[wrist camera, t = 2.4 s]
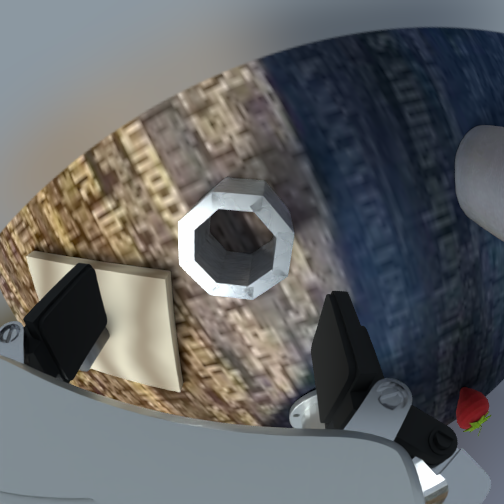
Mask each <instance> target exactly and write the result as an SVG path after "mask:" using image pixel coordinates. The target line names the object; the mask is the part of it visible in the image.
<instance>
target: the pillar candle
mask: <svg viewBox="0 0 504 504" xmlns="http://www.w3.org/2000/svg"><path fill="white" fill-rule="evenodd" d="M455 185H456V195H457V198H458V202H459V204H460V206H461V208H462V210H463V211H464V213H465V214H466V215H467V216H468V217H469V218H470V219H471V220H473V221H474V222H475V223H477V224H478V225H480V226H481V227H483V228H484V229H485V230H487V231H488V232H490V233H491V234H493V235H494V236H496V237H497V238H499V239H501V240H502V241H504V127H499V126H492V125H480V126H476V127H474V128H473V129H471V130H470V131H469V132H468V133H467V134H466V135H465V136H464V138H463V139H462V141H461V143H460V145H459V148H458V150H457V153H456V157H455Z"/></svg>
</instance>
